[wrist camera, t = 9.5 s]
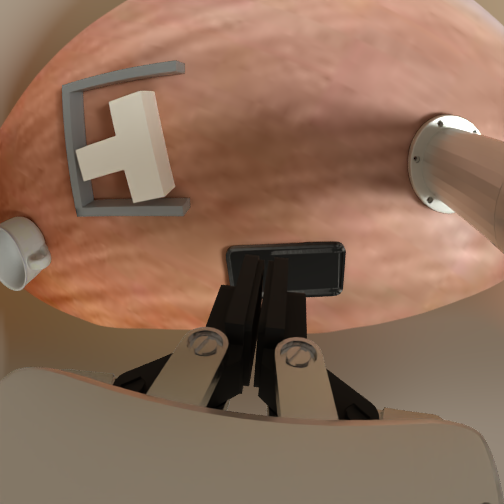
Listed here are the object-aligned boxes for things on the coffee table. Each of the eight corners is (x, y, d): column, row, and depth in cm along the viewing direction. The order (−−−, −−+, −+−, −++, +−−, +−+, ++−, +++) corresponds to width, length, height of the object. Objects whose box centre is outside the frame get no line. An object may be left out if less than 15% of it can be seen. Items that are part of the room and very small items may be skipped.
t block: (154, 91, 30) (140, 90, 26) (175, 186, 35) (164, 196, 31) (86, 115, 31) (68, 119, 27) (108, 201, 36) (93, 212, 33)
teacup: (16, 255, 43) (-10, 278, 36) (10, 202, 38) (-21, 221, 30) (70, 279, 43) (45, 307, 36) (68, 221, 38) (36, 246, 31)
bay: (184, 63, 28) (176, 60, 25) (190, 207, 36) (183, 216, 33) (75, 84, 29) (61, 85, 26) (88, 208, 37) (77, 216, 34)
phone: (342, 295, 39) (232, 299, 41) (340, 290, 40) (233, 294, 42) (346, 243, 36) (224, 248, 37) (344, 239, 37) (226, 244, 38)
